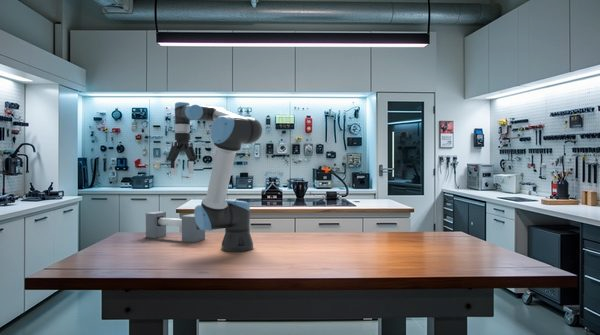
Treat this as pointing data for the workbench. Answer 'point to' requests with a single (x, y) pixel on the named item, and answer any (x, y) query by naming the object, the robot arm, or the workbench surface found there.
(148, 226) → the socket block
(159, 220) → the tube
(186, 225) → the sleeve
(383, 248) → the workbench surface
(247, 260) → the workbench surface
